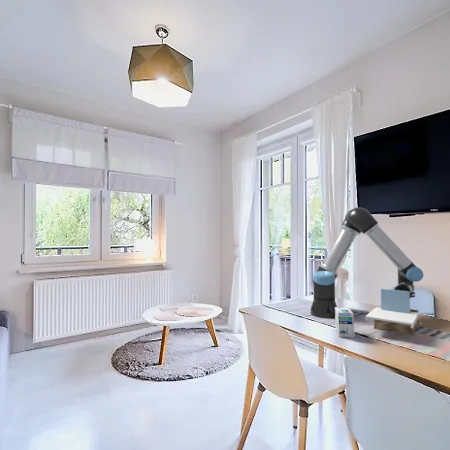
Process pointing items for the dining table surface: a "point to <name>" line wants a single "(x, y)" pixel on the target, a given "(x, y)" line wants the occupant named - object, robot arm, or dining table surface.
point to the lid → (394, 308)
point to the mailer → (396, 326)
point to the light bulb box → (344, 322)
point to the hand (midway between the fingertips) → (395, 298)
